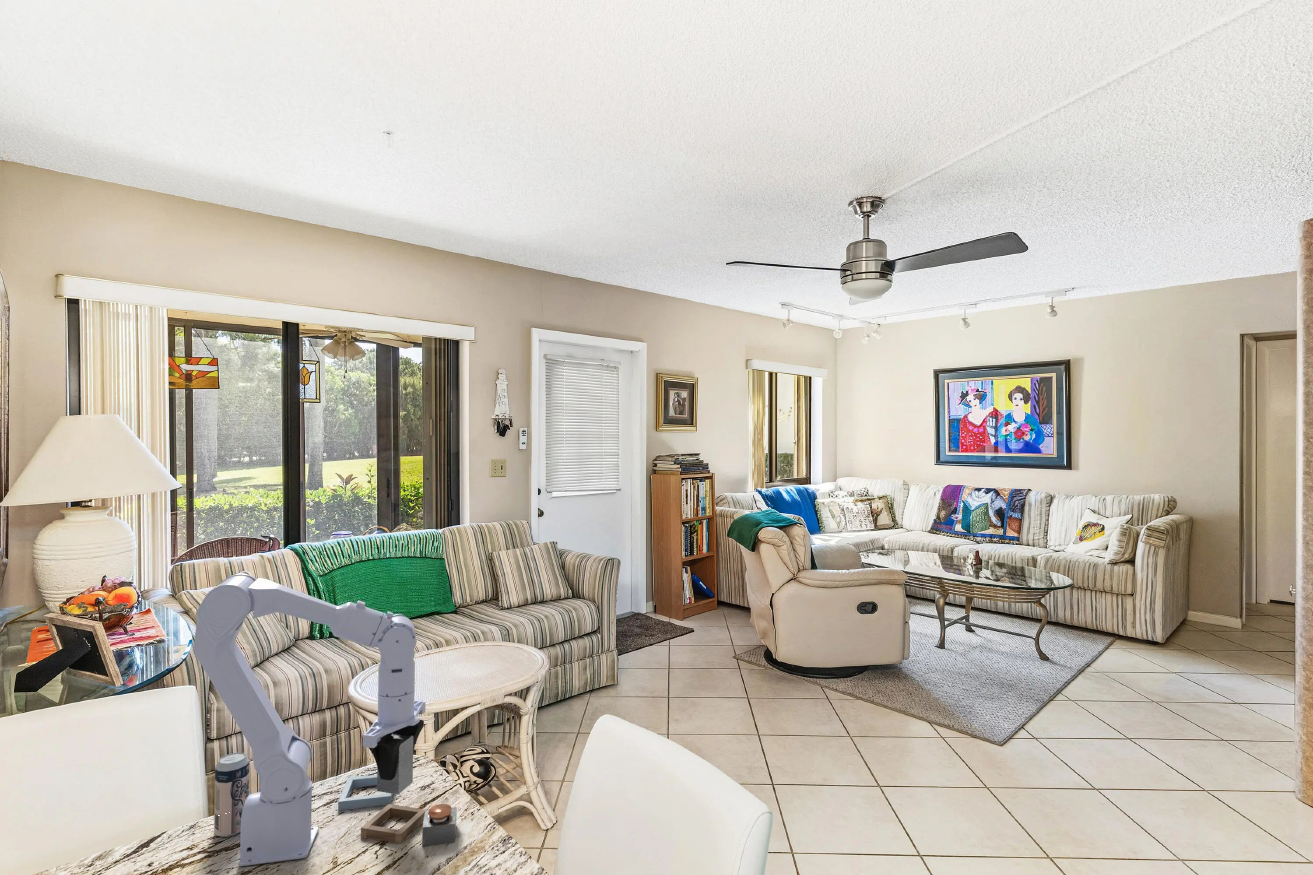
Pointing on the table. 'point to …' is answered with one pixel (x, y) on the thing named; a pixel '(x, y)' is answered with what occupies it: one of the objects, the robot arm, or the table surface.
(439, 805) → the plunger
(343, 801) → the light blue square frame
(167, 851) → the table surface
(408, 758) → the grey metal block
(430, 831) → the frame
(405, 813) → the walnut socket
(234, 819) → the beer can
